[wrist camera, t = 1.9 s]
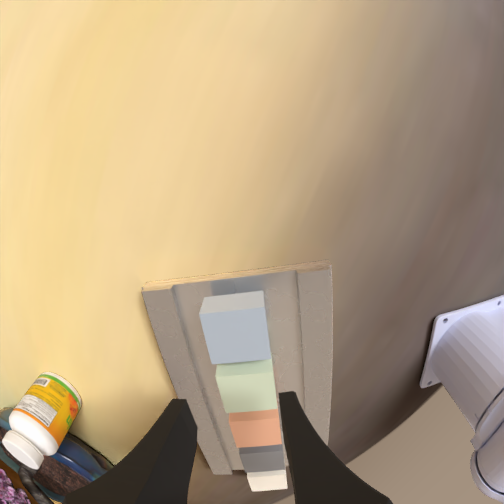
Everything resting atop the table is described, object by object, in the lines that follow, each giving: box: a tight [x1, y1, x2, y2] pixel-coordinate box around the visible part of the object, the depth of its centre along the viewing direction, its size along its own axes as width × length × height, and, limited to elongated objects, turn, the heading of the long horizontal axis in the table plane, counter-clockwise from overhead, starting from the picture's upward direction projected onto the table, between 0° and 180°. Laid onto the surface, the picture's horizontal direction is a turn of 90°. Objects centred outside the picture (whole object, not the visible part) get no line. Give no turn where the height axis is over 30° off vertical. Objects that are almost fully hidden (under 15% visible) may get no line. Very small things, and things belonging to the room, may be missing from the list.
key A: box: [247, 461, 287, 491], centre depth 22 cm, size 3×3×2 cm
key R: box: [239, 436, 285, 473], centre depth 20 cm, size 3×3×2 cm
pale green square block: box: [215, 356, 278, 413], centre depth 18 cm, size 3×3×2 cm
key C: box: [229, 404, 282, 448], centre depth 19 cm, size 3×3×2 cm
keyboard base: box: [142, 260, 333, 474], centre depth 21 cm, size 12×22×2 cm, turn 8°
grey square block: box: [199, 290, 271, 364], centre depth 16 cm, size 3×3×2 cm
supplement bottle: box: [2, 372, 82, 469], centre depth 18 cm, size 5×5×10 cm
